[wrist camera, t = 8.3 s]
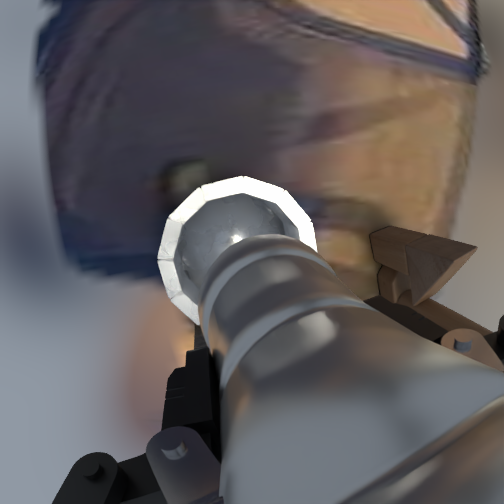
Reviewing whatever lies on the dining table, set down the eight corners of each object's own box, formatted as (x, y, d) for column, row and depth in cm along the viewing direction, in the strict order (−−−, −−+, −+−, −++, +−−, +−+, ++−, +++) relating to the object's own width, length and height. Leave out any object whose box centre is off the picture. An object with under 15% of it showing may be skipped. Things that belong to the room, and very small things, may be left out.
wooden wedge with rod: (391, 224, 33) (511, 254, 16) (402, 300, 36) (500, 360, 19) (367, 233, 33) (487, 272, 16) (381, 312, 36) (476, 381, 18)
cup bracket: (157, 199, 29) (128, 203, 17) (276, 170, 30) (319, 159, 18) (197, 335, 32) (196, 404, 21) (302, 307, 33) (348, 360, 22)
